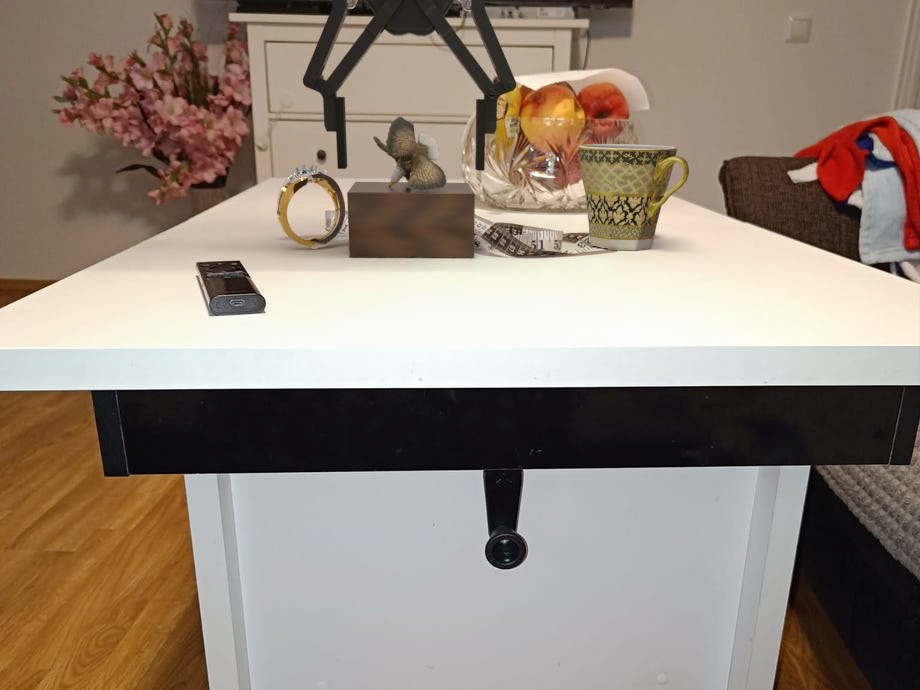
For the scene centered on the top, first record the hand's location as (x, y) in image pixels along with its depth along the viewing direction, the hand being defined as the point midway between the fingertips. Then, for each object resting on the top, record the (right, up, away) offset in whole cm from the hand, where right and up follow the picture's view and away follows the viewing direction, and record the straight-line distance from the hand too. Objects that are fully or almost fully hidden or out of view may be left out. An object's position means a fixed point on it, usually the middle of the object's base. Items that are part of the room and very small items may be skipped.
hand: (411, 169), depth 92 cm
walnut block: (0, -7, +3) cm, 8 cm away
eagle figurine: (0, -2, +1) cm, 2 cm away
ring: (-10, -8, +2) cm, 13 cm away
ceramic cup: (+23, -7, +6) cm, 24 cm away
